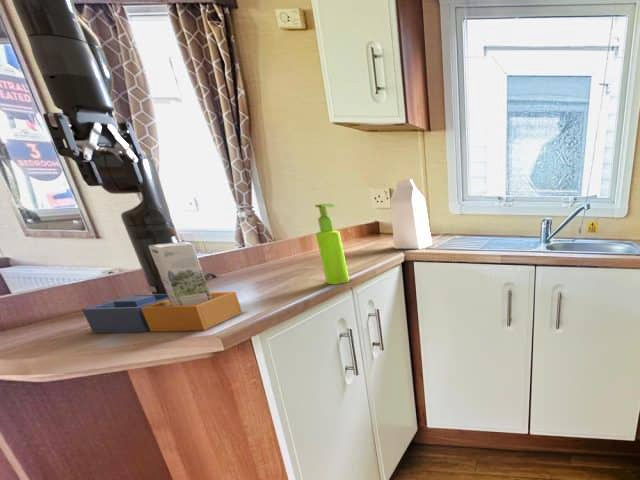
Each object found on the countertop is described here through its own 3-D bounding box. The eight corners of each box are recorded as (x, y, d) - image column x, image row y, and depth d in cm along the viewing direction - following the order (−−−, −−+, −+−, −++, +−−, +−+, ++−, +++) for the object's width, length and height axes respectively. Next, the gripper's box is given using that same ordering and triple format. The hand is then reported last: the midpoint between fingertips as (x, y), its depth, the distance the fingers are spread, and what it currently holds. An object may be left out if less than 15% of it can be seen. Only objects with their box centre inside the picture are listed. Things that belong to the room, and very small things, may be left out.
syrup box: (208, 313, 88) (182, 240, 82) (218, 317, 85) (192, 242, 78) (176, 319, 84) (146, 244, 78) (185, 324, 81) (155, 246, 75)
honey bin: (194, 314, 90) (186, 293, 88) (242, 313, 90) (235, 291, 88) (150, 331, 80) (140, 307, 78) (204, 330, 79) (195, 306, 77)
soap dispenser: (355, 279, 120) (341, 202, 111) (340, 284, 114) (323, 204, 105) (338, 278, 121) (322, 203, 113) (322, 283, 115) (304, 204, 107)
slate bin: (143, 315, 91) (134, 294, 89) (190, 314, 90) (182, 293, 88) (93, 333, 80) (81, 309, 78) (146, 331, 80) (136, 307, 78)
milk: (394, 248, 179) (384, 180, 168) (408, 244, 189) (399, 180, 178) (419, 248, 175) (410, 179, 164) (432, 244, 185) (424, 179, 174)
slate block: (141, 317, 87) (132, 296, 85) (162, 317, 87) (153, 295, 85) (122, 324, 83) (112, 301, 81) (144, 323, 83) (135, 301, 81)
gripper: (91, 85, 75) (130, 185, 83) (2, 67, 63) (58, 187, 70) (131, 83, 75) (167, 184, 82) (50, 64, 62) (101, 185, 69)
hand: (117, 185), depth 76 cm, fingers open, 8 cm apart
